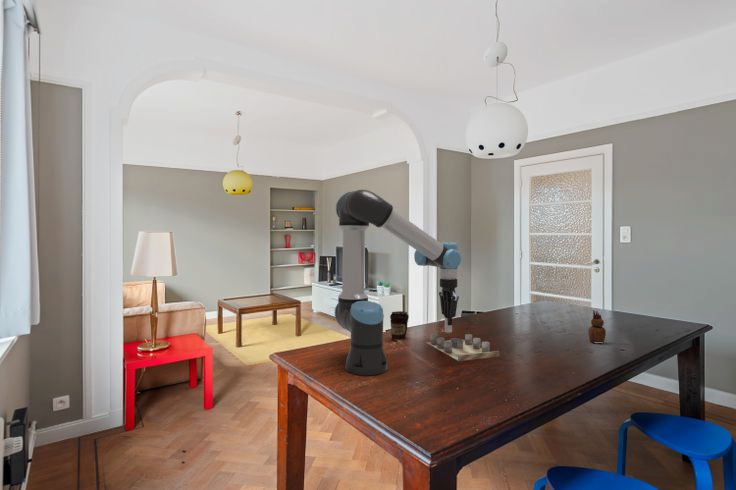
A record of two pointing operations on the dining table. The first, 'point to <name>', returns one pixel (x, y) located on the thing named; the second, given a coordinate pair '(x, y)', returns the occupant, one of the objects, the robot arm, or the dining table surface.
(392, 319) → the coffee cup
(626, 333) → the dining table surface
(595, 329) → the wooden figurine
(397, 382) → the dining table surface
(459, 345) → the nut
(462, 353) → the board
